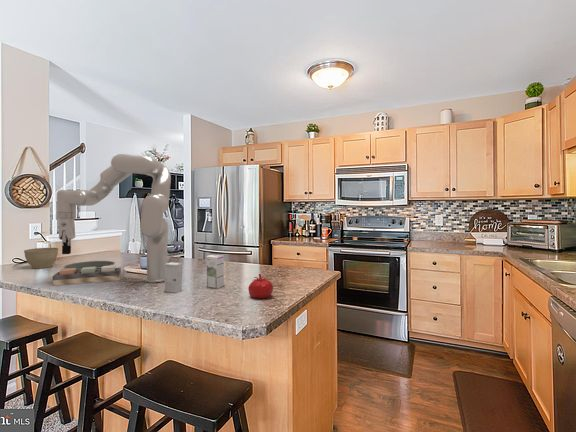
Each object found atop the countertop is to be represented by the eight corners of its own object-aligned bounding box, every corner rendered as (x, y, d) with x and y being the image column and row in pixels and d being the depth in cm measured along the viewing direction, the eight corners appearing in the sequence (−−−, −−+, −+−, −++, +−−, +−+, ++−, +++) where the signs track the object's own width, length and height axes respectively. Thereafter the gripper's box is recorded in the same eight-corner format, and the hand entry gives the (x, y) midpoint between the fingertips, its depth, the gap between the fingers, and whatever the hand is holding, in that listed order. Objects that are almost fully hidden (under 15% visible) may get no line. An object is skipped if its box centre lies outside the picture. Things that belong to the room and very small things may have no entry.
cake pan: (77, 279, 158) (77, 270, 158) (54, 273, 171) (54, 265, 170) (124, 270, 179) (124, 262, 179) (101, 266, 192) (101, 259, 191)
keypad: (120, 276, 164) (120, 267, 164) (119, 280, 155) (118, 271, 155) (58, 281, 153) (58, 271, 153) (52, 285, 144) (52, 276, 144)
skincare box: (164, 291, 134) (163, 263, 133) (171, 289, 138) (170, 262, 138) (176, 293, 132) (175, 264, 132) (182, 290, 136) (182, 262, 136)
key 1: (76, 271, 154) (76, 267, 154) (73, 274, 149) (73, 269, 149) (62, 272, 152) (62, 268, 152) (59, 275, 147) (59, 270, 147)
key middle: (96, 270, 157) (96, 266, 157) (94, 272, 152) (94, 268, 152) (83, 271, 155) (83, 267, 155) (80, 273, 150) (80, 269, 150)
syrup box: (224, 286, 144) (224, 254, 143) (216, 289, 138) (216, 256, 138) (214, 284, 146) (214, 253, 146) (206, 287, 141) (206, 255, 140)
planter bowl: (17, 269, 181) (16, 250, 181) (43, 264, 197) (42, 247, 197) (40, 270, 178) (40, 251, 178) (65, 265, 194) (64, 247, 194)
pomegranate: (263, 302, 120) (263, 278, 120) (243, 297, 125) (243, 275, 125) (277, 295, 129) (277, 273, 128) (258, 291, 134) (258, 270, 133)
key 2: (115, 269, 161) (115, 265, 161) (114, 271, 156) (114, 267, 156) (102, 269, 159) (102, 266, 159) (101, 272, 154) (101, 268, 153)
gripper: (72, 216, 144) (72, 255, 145) (79, 215, 158) (79, 251, 158) (52, 216, 141) (52, 256, 142) (61, 215, 155) (61, 252, 155)
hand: (66, 253), depth 150 cm, fingers closed
